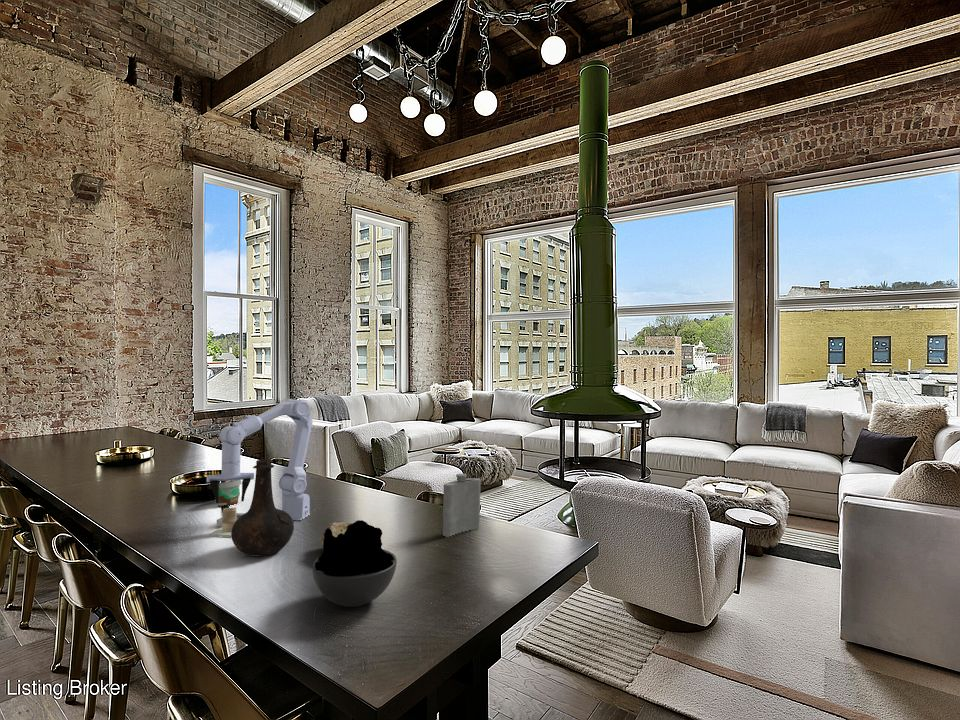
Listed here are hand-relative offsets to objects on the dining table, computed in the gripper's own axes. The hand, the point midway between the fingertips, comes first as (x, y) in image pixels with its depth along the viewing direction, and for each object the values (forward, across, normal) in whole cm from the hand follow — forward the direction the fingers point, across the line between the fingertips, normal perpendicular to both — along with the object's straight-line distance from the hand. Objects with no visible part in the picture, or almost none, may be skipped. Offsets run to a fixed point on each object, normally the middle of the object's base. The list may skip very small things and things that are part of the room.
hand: (230, 501), depth 174 cm
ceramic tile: (+10, 0, +1) cm, 10 cm away
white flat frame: (+10, -3, -8) cm, 14 cm away
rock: (+11, -36, +34) cm, 50 cm away
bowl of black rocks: (+11, -33, +66) cm, 74 cm away
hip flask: (+11, -75, +23) cm, 79 cm away
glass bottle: (+11, -11, +22) cm, 27 cm away
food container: (+11, +2, -37) cm, 39 cm away
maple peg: (+10, 0, 0) cm, 10 cm away
